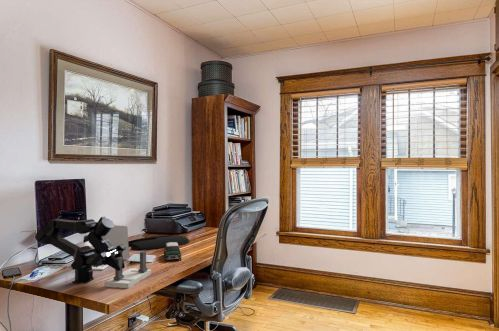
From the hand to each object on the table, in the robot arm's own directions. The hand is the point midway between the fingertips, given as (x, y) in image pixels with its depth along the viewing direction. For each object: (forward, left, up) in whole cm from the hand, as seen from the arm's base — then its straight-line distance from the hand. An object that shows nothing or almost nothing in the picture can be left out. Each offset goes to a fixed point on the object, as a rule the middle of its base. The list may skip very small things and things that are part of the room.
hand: (121, 269), depth 144 cm
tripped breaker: (-1, 0, -4) cm, 4 cm away
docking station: (-18, +76, -7) cm, 79 cm away
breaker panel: (0, +6, -7) cm, 9 cm away
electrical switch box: (-28, +35, -7) cm, 46 cm away
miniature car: (+4, +45, -7) cm, 46 cm away
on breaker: (+4, +12, -4) cm, 13 cm away
